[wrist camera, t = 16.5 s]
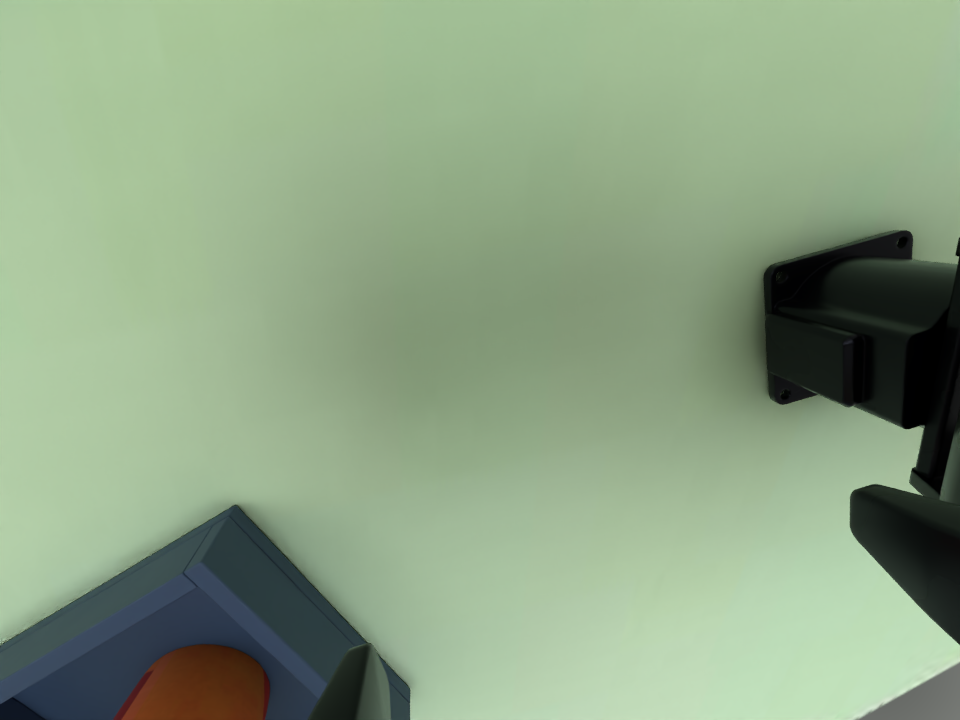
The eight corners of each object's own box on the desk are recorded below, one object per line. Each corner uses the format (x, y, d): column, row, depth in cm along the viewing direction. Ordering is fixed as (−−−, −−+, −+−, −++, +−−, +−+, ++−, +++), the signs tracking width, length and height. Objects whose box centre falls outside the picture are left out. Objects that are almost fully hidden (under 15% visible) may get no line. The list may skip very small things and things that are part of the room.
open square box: (236, 503, 20) (200, 562, 17) (410, 688, 24) (410, 763, 21) (-26, 660, 20) (-111, 747, 17) (191, 813, 25) (157, 906, 21)
